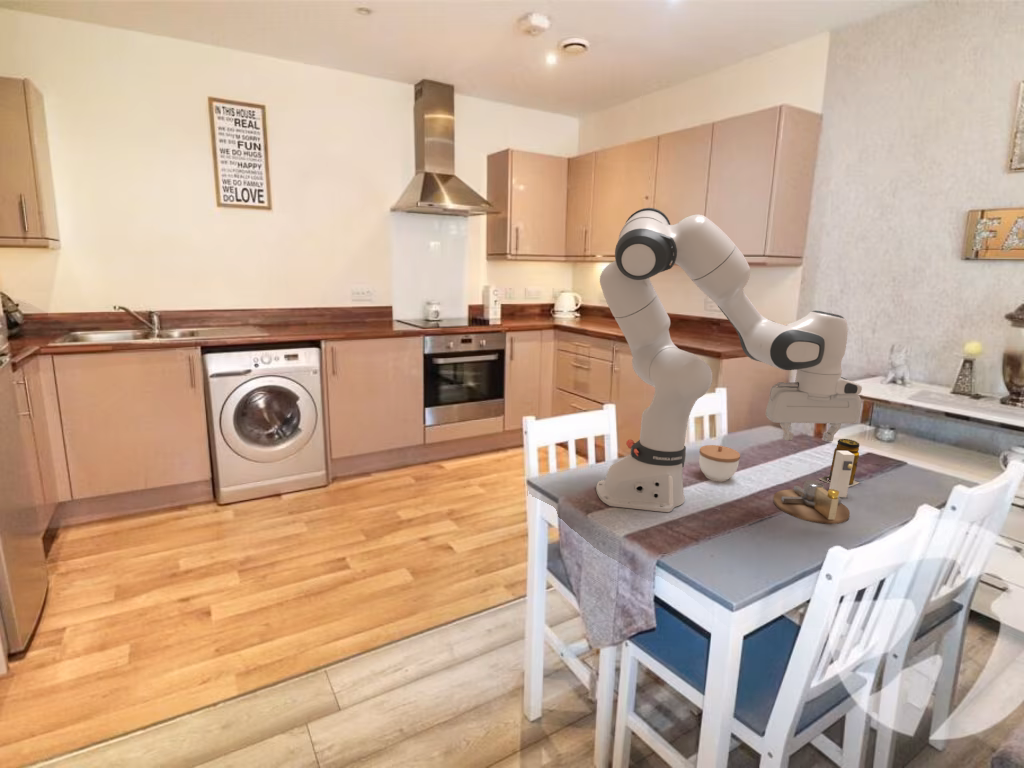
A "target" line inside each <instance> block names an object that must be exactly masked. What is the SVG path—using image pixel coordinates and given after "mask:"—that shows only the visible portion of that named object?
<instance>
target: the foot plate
mask: <svg viewBox="0 0 1024 768" xmlns="http://www.w3.org/2000/svg"><path fill="white" fill-rule="evenodd" d="M793 489H794V488H792V489H782V490H779V491H776V492H775V493H774V495H773V500H772V501H773V504H774V505H775V506H776V508H778V510H780V511H782V512H784V513H785V514H788V515H790V516H791V517H792V516H793V517H795V518H797V519H800V520H803V521H807V522H811V523H816V524H825V525H836V524H837V525H838V524H842V523H843V524H844V523H845V522H847V521H848V520H849V518H850V510H849V508H848V507H847V506H846V505H845V504H844V503H842V502H841V504H838V505H837V510H836V515H835V519H827V518H826V517H825V516H823V515H822V514H821V513H820V512H819V511H817V510H816V509H815V508H813V507H810V506H807V505H805V504H803V503H783V502H782V501H781V499H782V496H785V497H801V496H800V495H799V494H798V493H797V492H795V491H794V490H793Z"/></svg>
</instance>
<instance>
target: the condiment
mask: <svg viewBox="0 0 1024 768" xmlns="http://www.w3.org/2000/svg"><path fill="white" fill-rule="evenodd" d="M859 450H860V443H859V442H858V441H856V440H852V439H849V438H840V439H838V440H837V444H836V447H835V448H834V451H833V456H832V462H831V466H830V470H829V474H828V475H825V476H822V477H819V478H818V480H821V481H822V482H825V483H827V484H829V485H830V482H831V481H829V480H831V477H832V472H833V467H834V461H835V456H836V451H849V452H851V453H852V454H854V455H855V456H854V461H853V467H852V471H851V476H850V481H849V486H848V488H850V487H853V486H856V485H857V484H860V481H856V480H855V476H856V473H857V472H856V471H857V467H858V463H859V459H860V452H859ZM827 476H828V477H827ZM827 478H829V480H828V481H829V482H828V481H827Z"/></svg>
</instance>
